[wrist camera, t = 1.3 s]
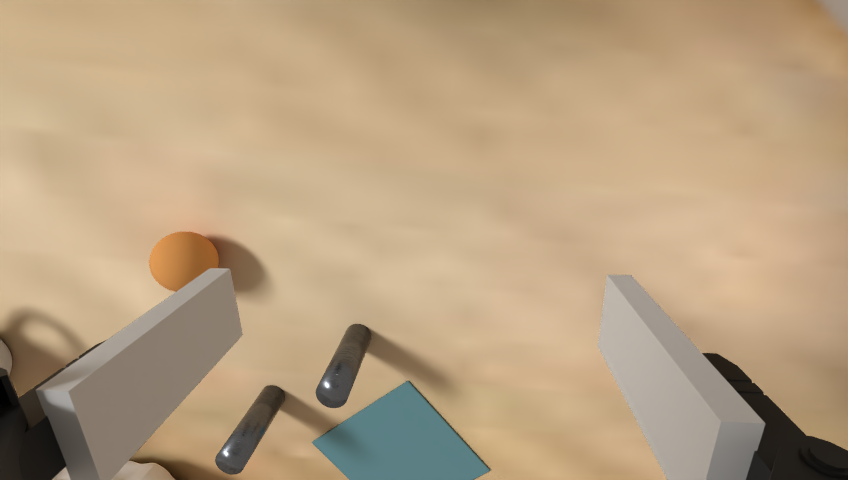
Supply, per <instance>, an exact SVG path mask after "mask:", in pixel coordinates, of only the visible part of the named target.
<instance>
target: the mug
mask: <svg viewBox="0 0 848 480" xmlns="http://www.w3.org/2000/svg"><path fill="white" fill-rule="evenodd" d="M0 368H3V369H6V370H7V372H8V374H10V372H11V368H12V356H11V353H10V351H9V349H8V347H7V346H6V344H5V343H4V342H3V341H2V340H1V339H0Z"/></svg>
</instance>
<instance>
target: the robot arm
mask: <svg viewBox="0 0 848 480" xmlns="http://www.w3.org/2000/svg"><path fill="white" fill-rule="evenodd" d="M242 335H243V334H242V329H241V323H240V318H239V313H238V308H237V302H236V297H235V292H234V286H233V281H232V276H231V270H230V269H228V268H210V269H208V270H207V271H205V272H204V273H202V274H201V275H200V276H198V277H197V278H195V279H194V280H192V281H191V282H189V283H188V284H187V285H185V286H184V287H182V288H181V289H179V290H178V291H177V292H175V293H174V294H172V295H171V296H169V297H168V298H167V299H165V300H164V301H162V302H161V303H159V304H158V305H156V306H155V307H154V308H152V309H151V310H149V311H148V312H146V313H145V314H144V315H142V316H141V317H139V318H138V319H136V320H135V321H134V322H132V323H131V324H129V325H128V326H126V327H125V328H123V329H122V330H121V331H119V332H118V333H116V334H115V335H113V336H112V337H111V338H109V339H108V340H106V341H103V342H101V343H99V344H97V345H95V346H94V347H92V348H91V349H89V350H88V351H86V352H85V353H83V354H82V355H81V356H79V359H75V360H73V361H72V362H70V363H69V364H67V365H66V367H65V368H62V369H60V370H59V371H57V372H56V373H54V374H53V375H52V376H50V377H49V378H47V379H46V380H44V381H43V382H41V383H40V384H38V385H37V386H36V387H34V388H33V389H31V390H30V391H28V392H27V393H25V394H24V395H23V396H21V397H20V398H18V396H17V394H16V391H15V389H14V386H13V384H12V382H11V379H10V377H9V374H8V372H7V370H6V369H3V368H0V480H52V479H53V478H54V477H55V476H56V475H57V474H58V473H59V472H61V471H62V470H63V469H64V468H65V467H66V469H67V471H68V474H69V477H70V479H71V480H111V479H112V478H113V477H114V476H115V475H116V474H117V473H118V472H119V471H120V469H121V468H122V467H123V466H124V465H125V464H126V463H127V462H128V461H129V460H130V458H131V457H132V456H133V455H134V454H135V453H136V452H137V451H138V450H139V449H140V447H141V446H142V445H143V444H144V443H145V442H146V441H147V440H148V439H149V438H150V436H151V435H152V434H153V433H154V432H155V431H156V430H157V429H158V428H159V427H160V425H161V424H162V423H163V422H164V421H165V420H166V419H167V418H168V417H169V416H170V414H171V413H172V412H173V411H174V410H175V409H176V408H177V407H178V406H179V405H180V403H181V402H182V401H183V400H184V399H185V398H186V397H187V396H188V395H189V394H190V392H191V391H192V390H193V389H194V388H195V387H196V386H197V385H198V384H199V383H200V381H201V380H202V379H203V378H204V377H205V376H206V375H207V374H208V373H209V372H210V370H211V369H212V368H213V367H214V366H215V365H216V364H217V363H218V362H219V361H220V359H221V358H222V357H223V356H224V355H225V354H226V353H227V352H228V351H229V349H230V348H231V347H232V346H233V345H234V344H235V343H236V342H237V341H238V340H239V338H240V337H241V336H242ZM598 348H599V350H600V352H601V354H602V355H603V357H604V359H605V361H606V363H607V365H608V367H609V369H610V371H611V373H612V375H613V377H614V378H615V380H616V382H617V384H618V386H619V388H620V390H621V392H622V394H623V396H624V398H625V400H626V401H627V403H628V405H629V407H630V409H631V411H632V413H633V415H634V417H635V419H636V421H637V423H638V424H639V426H640V428H641V430H642V432H643V434H644V436H645V438H646V440H647V442H648V444H649V446H650V447H651V449H652V451H653V453H654V455H655V457H656V459H657V461H658V463H659V465H660V467H661V469H662V470H663V472H664V474H665V476H666V478H667V480H848V451H847V450H845V449H843V448H841V447H839V446H837V445H835V444H833V443H831V442H828V441H825V440H822V439H819V438H815V437H812V436H806V435H805V434H804V433H803V432H802V431H801V430H800V429H799V428H798V427H797V426H796V425H795V424H794V423H793V422H792V421H791V420H790V419H789V418H788V417H787V416H786V415H785V413H784V412H783V411H782V410H781V409H780V408H779V407H778V406H777V405H776V404H775V403H774V402H773V401H772V400H771V399H770V398H769V397H768V396H767V395H764V394H763V391H762V390H761V389H760V388H759V387H758V386H757V385H756V384H755V383H752V380H751V379H750V378H749V377H748V376H747V375H746V374H745V373H744V372H743V371H742V370H741V369H740V368H739V367H738V366H737V365H735V364H733V363H732V362H730V361H728V360H727V359H725V358H723V357H722V356H720V355H718V354H713V353H701V352H700V351H699V350H698V348H697V347H696V346H695V345H694V344H693V343H692V342H691V341H690V340H689V338H688V337H687V336H686V335H685V334H684V333H683V332H682V331H681V330H680V329H679V327H678V326H677V325H676V324H675V323H674V322H673V321H672V320H671V319H670V317H669V316H668V315H667V314H666V313H665V312H664V311H663V310H662V309H661V308H660V306H659V305H658V304H657V303H656V302H655V301H654V300H653V299H652V298H651V296H650V295H649V294H648V293H647V292H646V291H645V290H644V289H643V288H642V287H641V285H640V284H639V283H638V282H637V281H636V280H635V279H634V278H633V277H632V275H607V280H606V287H605V295H604V302H603V310H602V317H601V325H600V332H599V340H598Z"/></svg>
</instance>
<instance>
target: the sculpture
mask: <svg viewBox="0 0 848 480" xmlns="http://www.w3.org/2000/svg"><path fill="white" fill-rule="evenodd" d="M52 480H71V479H70V477H69V474H68V471H67V469H66V467H65V468H64V469H63V470H62V471H61V472H59V473H58V474H57V475H56V476H55V477H54V478H53V479H52ZM111 480H175V479H174V478H173V477H172V476H171V474H170V473H169V472H168V471H167V470H166V469H165V468H163V467H162V466H160V465H158V464H156V463H146V464H139V463H136V462H134V461H128V462H127V463H126V464H125V465H124V466H123V467H122V468H121V469H120V471H119V472H118V473H117V474H116V475H115V476H114V477H113V478H112V479H111Z"/></svg>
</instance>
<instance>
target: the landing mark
mask: <svg viewBox="0 0 848 480" xmlns="http://www.w3.org/2000/svg"><path fill="white" fill-rule="evenodd" d="M312 443H313V444H314V445H315V446H316V447H317V448H318V449H319V450H320V451H321V452H322V453H323V454H324V455H325V456H326V457H327V458H328V459H329V460H330V461H331V462H332V463H333V464H334V465H335V466H336V467H337V468H338V469H339V470H340V471H341V472H342V473H343V474H344V475H345V476H346V477H347V478H348V479H349V480H473V479H475V478H477V477H479V476H481V475H483V474H485V473H487V472H488V471H490V469H489V468H488V467H487V466H486V465H485V464H484V463H483V462H482V460H481V459H480V458H479V457H478V456H477V455H476V454H475V453H474V452H473V451H472V450H471V448H470V447H469V446H468V445H467V444H466V443H465V442H464V441H463V440H462V439H461V438H460V436H459V435H458V434H457V433H456V432H455V431H454V430H453V429H452V428H451V427H450V426H449V424H448V423H447V422H446V421H445V420H444V419H443V418H442V417H441V416H440V415H439V414H438V412H437V411H436V410H435V409H434V408H433V407H432V406H431V405H430V404H429V403H428V402H427V400H426V399H425V398H424V397H423V396H422V395H421V394H420V393H419V392H418V391H417V390H416V388H415V387H414V386H413V385H412V384H411V383H410V382H409V381H407V382H405V383H403V384H402V385H400V386H399V387H397V388H396V389H394V390H393V391H391V392H389V393H388V394H386V395H385V396H383V397H382V398H380V399H378V400H377V401H375V402H374V403H372V404H371V405H369V406H367V407H366V408H364V409H363V410H361V411H360V412H358V413H357V414H355V415H353V416H352V417H350V418H349V419H347V420H346V421H344V422H342V423H341V424H339V425H338V426H336V427H335V428H333V429H331V430H330V431H328V432H327V433H325V434H324V435H322V436H321V437H319V438H317V439H316V440H314V441H313V442H312Z"/></svg>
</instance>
